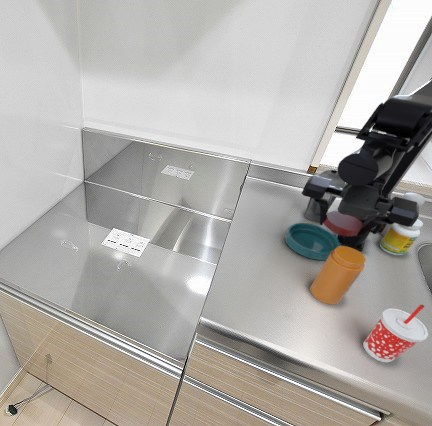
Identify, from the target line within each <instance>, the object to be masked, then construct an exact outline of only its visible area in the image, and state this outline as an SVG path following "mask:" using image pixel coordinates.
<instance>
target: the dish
mask: <svg viewBox="0 0 432 426" xmlns="http://www.w3.org/2000/svg"><path fill="white" fill-rule="evenodd" d="M335 236H336V235H335V234H334V233H332V231H330V230H329V229H327V228H324V227H322V226H319V225H316V224H312V223H307V222H297V223H293V224H291V225H290V226H288V228H287V231H286V232H285V235H284V241H285V243H286V244H287V246H288V247H289V248H290V249H291V250H292V251H294V252H295V253H297V254H299V255H301V256H302V257H305V258H307V259H312V260H317V261H324V260H325V261H326V259H327V258H328V256H329V254H330V252H331V251H333V250H334V249H335V248H337V247H339V246H341V244H340V243H339V241H338V239H337V238H336V237H335Z"/></svg>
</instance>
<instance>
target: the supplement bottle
mask: <svg viewBox="0 0 432 426" xmlns="http://www.w3.org/2000/svg"><path fill="white" fill-rule="evenodd" d="M423 225H424V223H423V221H422V220H420V219H419V218H418V219H417V220H416V222H415V223H414V224H413V226H412V227H407V226H403V225H400V224H397V223H394V224H393V225H392V226H391V228H390V229H389V231H388V232H387V234H386V235H385V236H383V238H382V239H381V241H380V242H379V247H380V249H382V250H383V251H384V252H385V253H387V254H389V255H393V256H403V255H405V254H406V253H407V251H408V250H409V249H410V248H411V246H413V244H414V243H415V241H417V239H418V238H419V237H420V235H421V231H420V230H421V228H422V227H423Z"/></svg>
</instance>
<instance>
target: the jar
mask: <svg viewBox="0 0 432 426" xmlns="http://www.w3.org/2000/svg"><path fill="white" fill-rule="evenodd" d="M366 260H367V259H366V256H365V255H364V254H363V253H362V251H359V250H356V249H353V248H351V247H348V246H345V245H340V246H339V247H337V248H335V249H334V250H333V251H331V252H330V254H329V256H328V258H327V259H326V260H325V261H324V263H323V264H322V266H321V267H320V270H319V271H318V273H317V275H316V276H315V278H314V280H313V281H312V283H311V285H310V287H309V292H310V294H311V295H312V296H313V297H314V299H316V300H318V301H319V302H321V303H323V304H326V305H331V306H335V305H338V304H339V303H341V301H342V300H343V298H344V297H345V296H346V294H347V293H348V291H349V290H350V289H351V287H352V286H353V284H354V283H355V281H356V280H357V279H358V277H359V276H360V274H361V273H362V272H363V270H364V269H365V265H366V264H365V263H366Z"/></svg>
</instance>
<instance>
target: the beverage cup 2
mask: <svg viewBox="0 0 432 426" xmlns="http://www.w3.org/2000/svg"><path fill="white" fill-rule="evenodd" d="M424 308H425V305H424V304H420V305H419V306H418V307H417V308H416V309H415V310H414V311H413V312H412V313H409V312H407V311H404V310H402V309H399V308H386V309H384V310H383V312H382V313H381V315H380V318H379V320H378V322H377V323H376V324H375V326H374V327H373V329H372V330H371V331H370V333H369V334H368V335H367V337H366V338H365V339H364V341H363V343H362V344H363V345H362V346H363V349H364V350H365V353H367V354H368V355H369V356H370V357H371V358H373V359H375V361H379V362H382V363H391V362H393V361H394V360H395V359H397V358H398V357H400V356H401V355H402V354H404V353H405V352H406V351H408V350H409V349H411V348H412V347H414V346H415V345H416V344H419V343H421V342H424V340H425V341H426V340H427V338H428V336H429V331H428V329H427V327H426V326H425V325H424V323H423V322H422V321H421V320H420V319H418V318H417V317H416V316H417V315H418V314H419V313H420V312H421V311H422V310H423V309H424Z"/></svg>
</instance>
